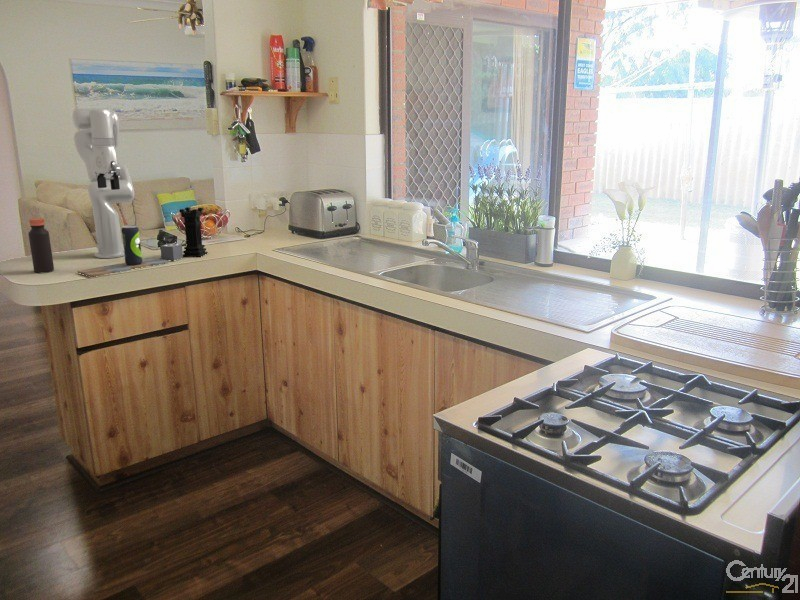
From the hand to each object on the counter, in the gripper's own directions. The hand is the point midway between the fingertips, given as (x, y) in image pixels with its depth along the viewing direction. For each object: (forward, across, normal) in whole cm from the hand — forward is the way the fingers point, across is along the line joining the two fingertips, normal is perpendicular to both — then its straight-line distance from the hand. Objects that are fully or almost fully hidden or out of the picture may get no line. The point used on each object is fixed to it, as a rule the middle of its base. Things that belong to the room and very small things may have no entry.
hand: (108, 188), depth 248 cm
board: (+30, +7, -1) cm, 31 cm away
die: (+30, +7, +20) cm, 37 cm away
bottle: (+31, -12, -23) cm, 40 cm away
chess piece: (+31, +7, +31) cm, 44 cm away
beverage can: (+29, +7, +3) cm, 30 cm away
